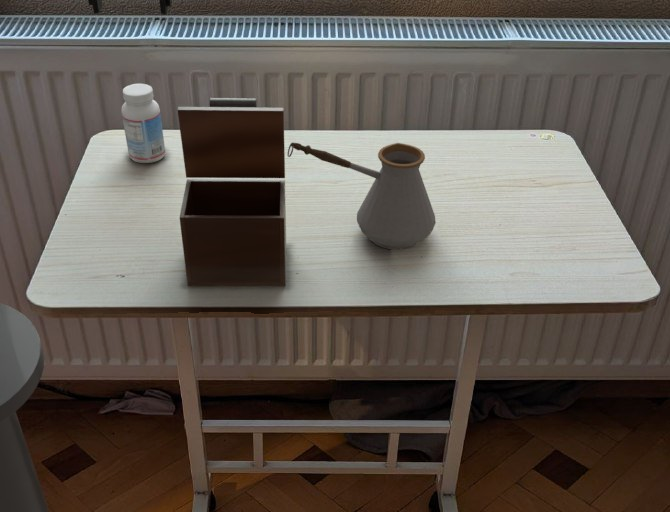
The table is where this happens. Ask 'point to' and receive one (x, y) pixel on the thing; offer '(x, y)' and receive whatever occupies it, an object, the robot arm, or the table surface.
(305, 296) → the table surface
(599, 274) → the table surface
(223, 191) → the chest
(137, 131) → the pill bottle
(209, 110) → the lid
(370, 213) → the coffee pot
